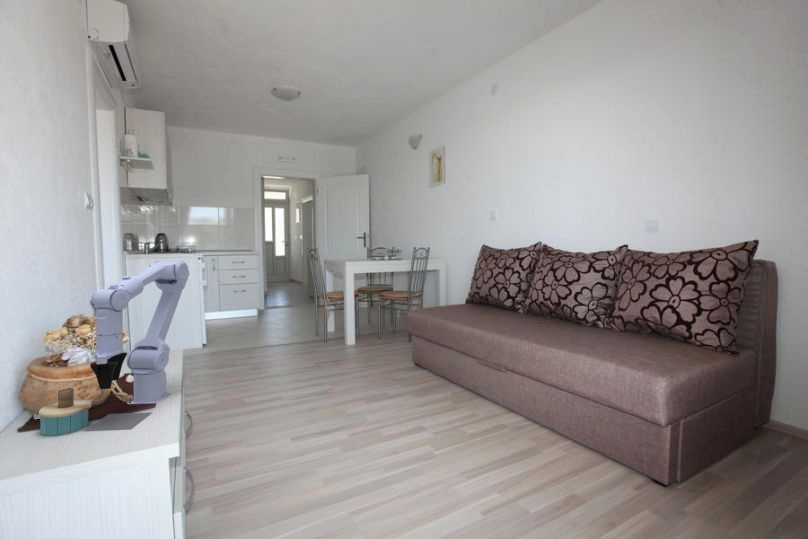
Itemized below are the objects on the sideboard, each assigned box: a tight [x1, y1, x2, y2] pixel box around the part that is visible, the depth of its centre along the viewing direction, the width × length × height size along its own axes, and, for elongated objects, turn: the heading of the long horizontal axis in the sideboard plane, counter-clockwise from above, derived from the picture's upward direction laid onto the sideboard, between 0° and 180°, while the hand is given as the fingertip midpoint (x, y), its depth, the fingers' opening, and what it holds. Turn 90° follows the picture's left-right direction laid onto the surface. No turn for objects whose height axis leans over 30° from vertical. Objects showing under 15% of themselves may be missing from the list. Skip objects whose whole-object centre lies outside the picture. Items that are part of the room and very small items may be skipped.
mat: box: [83, 412, 153, 432], centre depth 104 cm, size 11×11×1 cm
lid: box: [39, 388, 92, 418], centre depth 99 cm, size 10×10×5 cm
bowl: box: [39, 409, 89, 437], centre depth 100 cm, size 9×9×5 cm
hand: (109, 384), depth 106 cm, fingers open, 7 cm apart
